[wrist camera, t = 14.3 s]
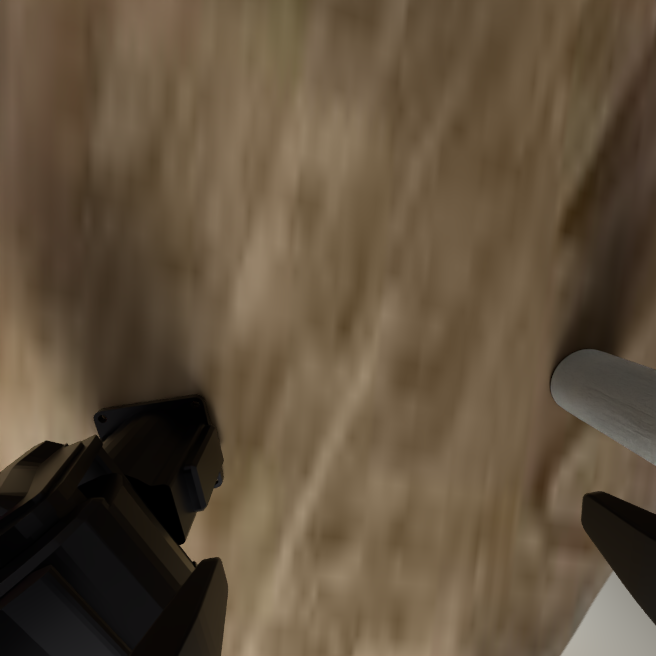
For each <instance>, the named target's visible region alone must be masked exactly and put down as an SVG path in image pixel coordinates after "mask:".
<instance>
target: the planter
mask: <svg viewBox="0 0 656 656" xmlns="http://www.w3.org/2000/svg"><path fill="white" fill-rule="evenodd" d="M551 393H552V396H553V399H554V400H555V402H556V403H557V404H558V405H559V406H561V407H562V408H563V409H565V410H566V411H568V412H569V413H571V414H573V415H574V416H576V417H578V418H579V419H581V420H582V421H584V422H586V423H587V424H589V425H591V426H592V427H594V428H595V429H597V430H599V431H600V432H602V433H604V434H605V435H607V436H608V437H610V438H612V439H613V440H615V441H617V442H618V443H620V444H621V445H623V446H625V447H626V448H628V449H630V450H631V451H633V452H634V453H636V454H638V455H639V456H641V457H643V458H644V459H646V460H647V461H649V462H651V463H652V464H654V465H656V370H655V369H652V368H649V367H646V366H644V365H641V364H638V363H635V362H632V361H629V360H626V359H623V358H620V357H618V356H615V355H612V354H609V353H606V352H602V351H599V350H595V349H584V350H580V351H577V352H574V353H572V354H571V355H569V356H568V357H566V358H565V359H564V360H563V361H562V362H561V363H560V364H559V365H558V367H557V368H556V370H555V371H554V374H553V376H552V379H551Z"/></svg>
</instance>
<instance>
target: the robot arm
mask: <svg viewBox="0 0 656 656" xmlns="http://www.w3.org/2000/svg"><path fill="white" fill-rule="evenodd" d="M193 401H197V402H198V403H199V405H198V406H197V405H194V404H193ZM102 415H104V416H106V418H107V419H104V418H103V417H102ZM94 422H95V425H96V428H97V431H98V434H99V437H100V439H99V437H98V436H97V435H93V436H91V437H89V438H87V439H85V440H83V441H79V442H77V443H74V444H72V445H68V444H65V445H63V444H59V443H55V442H51V441H44V442H42V443H40V444H38V445H36V446H34V447H33V448H31V449H30V450H29V451H27V452H26V453H25V454H23V455H22V456H21V457H19V458H18V459H17V460H15V461H14V462H13V463H11V464H10V465H9V466H7V467H6V468H5V469H4V470H2V471H1V472H0V656H221V650H222V642H223V633H224V624H225V615H226V606H227V597H228V584H227V579H226V576H225V572H224V568H223V564H222V561H221V559H220V558H219V557H215V558H209V559H204V560H202V561H201V562H200V563H199V564H198V565H197V563H196V562H195V561H193V562H192V561H191V560H190V558H189V557H188V556H187V555H186V553H185V552H184V551H183V549H182V548H181V547H180V546H179V545H181V544H184V542H185V541H186V538H187V536H188V533H189V531H190V528H191V526H192V523H193V521H194V518H195V516H196V513H197V512H199V511H204V509H205V508H206V507H207V505H208V502H209V500H210V497H211V494H212V491H213V489H214V488H217V487H219V486H221V484H222V482H223V479H224V476H223V472H222V468H221V467H222V464H223V461H224V459H223V455H222V451H221V447H220V443H219V438H218V434H217V430H216V427H215V426H213V425H211V423H210V418H209V414H208V410H207V406H206V402H205V399H204V398H203V397H202V396H201V395H197V394H195V395H188V396H182V397H175V398H168V399H162V400H155V401H149V402H142V403H135V404H129V405H122V406H116V407H109V408H103V409H101V410H99V411H98V412H97V413H96V414H95V415H94ZM217 479H218V480H217ZM216 480H217V481H216ZM581 522H582V525H583V528H584V530H585V531H586V533H587V534H588V536H589V537H590V539H591V540H592V541H593V543H594V544H595V545H596V547H597V548H598V550H599V551H600V552H601V554H602V555H603V557H604V558H605V559H606V561H607V562H608V564H609V565H610V566H611V568H612V569H613V570H614V572H615V573H616V575H617V576H618V577H619V579H620V580H621V582H622V583H623V584H624V586H625V587H626V589H627V590H628V591H629V592H630V594H631V595H632V597H633V598H634V599H635V600H636V602H637V603H638V604H639V605H640V607H641V608H642V609H643V610H644V612H645V613H646V614H647V615H648V617H649V618H650V619H651V620H652V621H653V623H654V624H655V625H656V514H654V513H651V512H649V511H647V510H644V509H642V508H640V507H638V506H635V505H633V504H631V503H628V502H626V501H624V500H622V499H619V498H617V497H615V496H612V495H610V494H608V493H605V492H602V491H598V492H592V493H587V494H585V495H584V496H583V502H582V514H581Z"/></svg>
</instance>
